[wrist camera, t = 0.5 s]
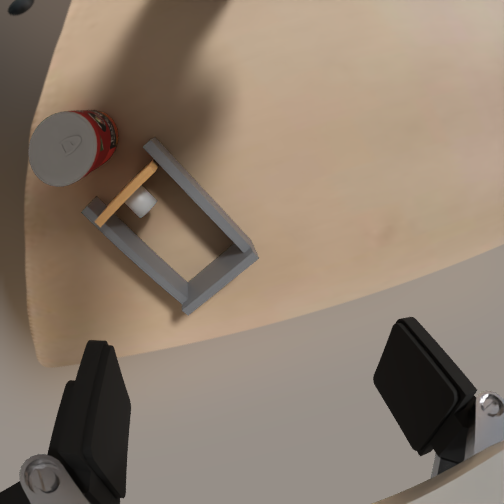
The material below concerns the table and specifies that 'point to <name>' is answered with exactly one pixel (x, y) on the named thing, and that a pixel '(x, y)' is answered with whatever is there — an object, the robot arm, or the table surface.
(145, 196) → the pusher
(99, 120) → the canned food
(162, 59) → the table surface
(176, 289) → the frame
